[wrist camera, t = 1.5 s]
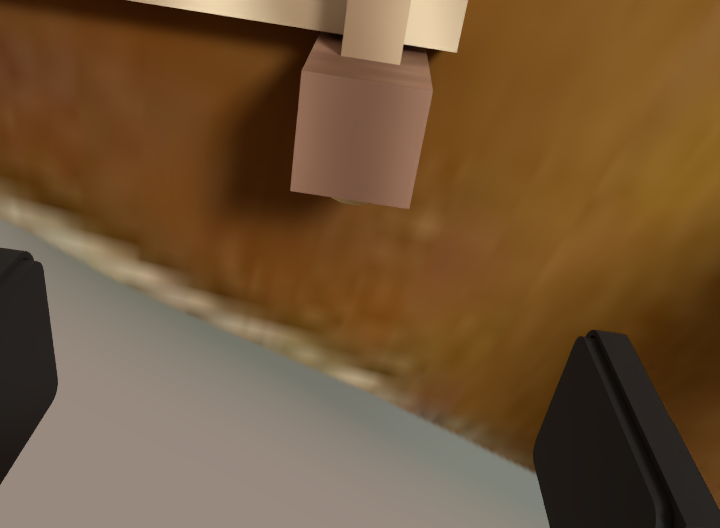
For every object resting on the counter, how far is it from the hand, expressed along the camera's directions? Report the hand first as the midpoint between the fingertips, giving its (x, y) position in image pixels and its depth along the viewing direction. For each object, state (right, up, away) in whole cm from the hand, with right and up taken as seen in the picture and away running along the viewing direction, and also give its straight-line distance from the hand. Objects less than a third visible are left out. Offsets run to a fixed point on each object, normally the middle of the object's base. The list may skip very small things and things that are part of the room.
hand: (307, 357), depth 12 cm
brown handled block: (+2, +13, +12) cm, 17 cm away
